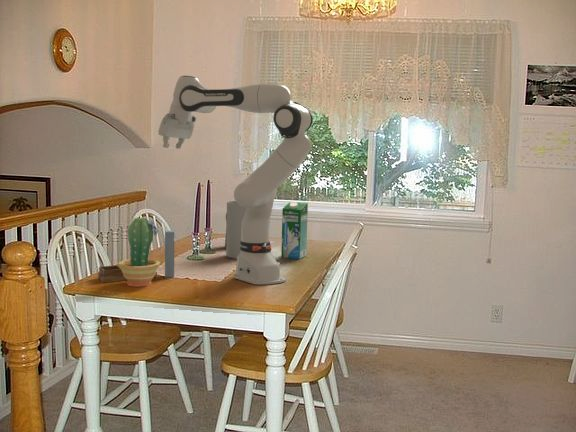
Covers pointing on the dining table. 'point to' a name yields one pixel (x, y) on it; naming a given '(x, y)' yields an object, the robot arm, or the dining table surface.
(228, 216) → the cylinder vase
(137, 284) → the potted cactus
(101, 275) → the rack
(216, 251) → the dining table surface
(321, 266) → the dining table surface
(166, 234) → the blue-grey rectangular bar
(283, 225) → the milk carton
